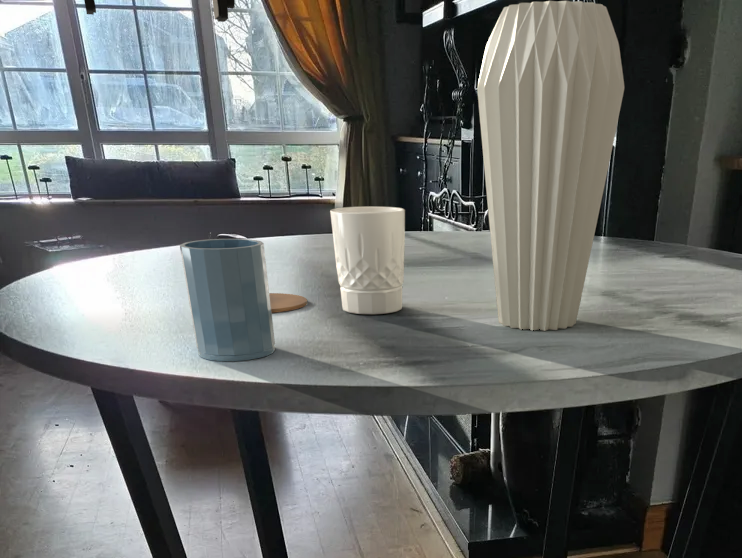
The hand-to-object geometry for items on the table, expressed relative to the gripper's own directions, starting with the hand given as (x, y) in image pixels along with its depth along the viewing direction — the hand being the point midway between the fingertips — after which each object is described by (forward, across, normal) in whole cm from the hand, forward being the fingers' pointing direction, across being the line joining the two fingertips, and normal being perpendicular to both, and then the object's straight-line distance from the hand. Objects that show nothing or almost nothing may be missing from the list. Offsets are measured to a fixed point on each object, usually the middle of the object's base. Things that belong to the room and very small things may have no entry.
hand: (158, 16), depth 60 cm
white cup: (+25, -19, -10) cm, 33 cm away
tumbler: (+25, -2, +4) cm, 25 cm away
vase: (+24, -33, +2) cm, 41 cm away
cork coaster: (+25, -8, -17) cm, 31 cm away
